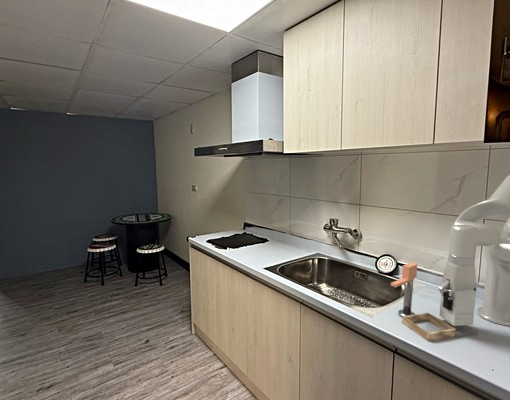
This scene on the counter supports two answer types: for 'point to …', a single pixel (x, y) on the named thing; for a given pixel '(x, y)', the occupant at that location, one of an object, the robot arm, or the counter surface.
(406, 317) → the frame
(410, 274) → the lever
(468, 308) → the white drawer cabinet
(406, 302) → the post
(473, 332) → the coaster
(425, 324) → the counter surface
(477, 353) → the counter surface
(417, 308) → the counter surface
